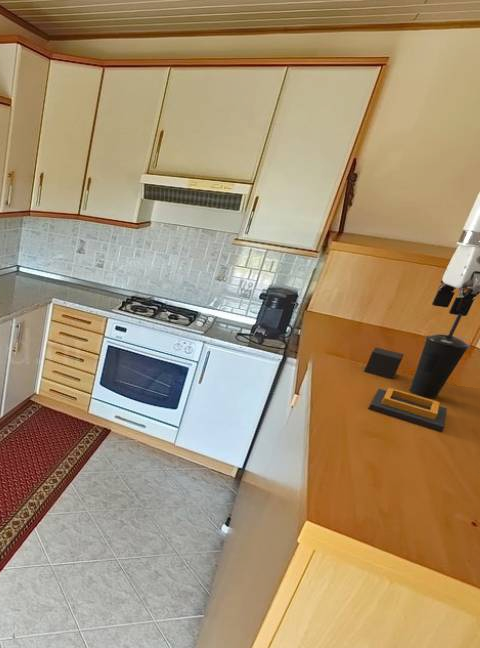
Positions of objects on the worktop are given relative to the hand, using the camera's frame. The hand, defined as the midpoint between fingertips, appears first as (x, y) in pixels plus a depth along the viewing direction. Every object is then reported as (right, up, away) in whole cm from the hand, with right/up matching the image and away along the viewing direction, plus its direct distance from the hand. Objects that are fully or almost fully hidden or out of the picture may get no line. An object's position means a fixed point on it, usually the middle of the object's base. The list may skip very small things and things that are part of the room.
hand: (448, 310), depth 121 cm
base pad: (-24, -23, -15) cm, 36 cm away
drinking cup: (-10, -21, -4) cm, 23 cm away
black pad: (-10, -16, +8) cm, 20 cm away
